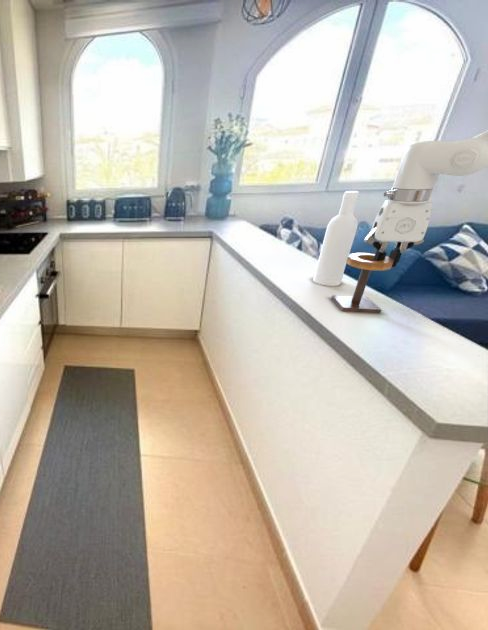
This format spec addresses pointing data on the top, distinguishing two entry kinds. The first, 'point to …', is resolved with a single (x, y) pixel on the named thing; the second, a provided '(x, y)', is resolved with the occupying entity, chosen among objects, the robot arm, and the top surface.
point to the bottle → (337, 243)
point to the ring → (368, 262)
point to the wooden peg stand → (357, 298)
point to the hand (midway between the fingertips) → (384, 264)
